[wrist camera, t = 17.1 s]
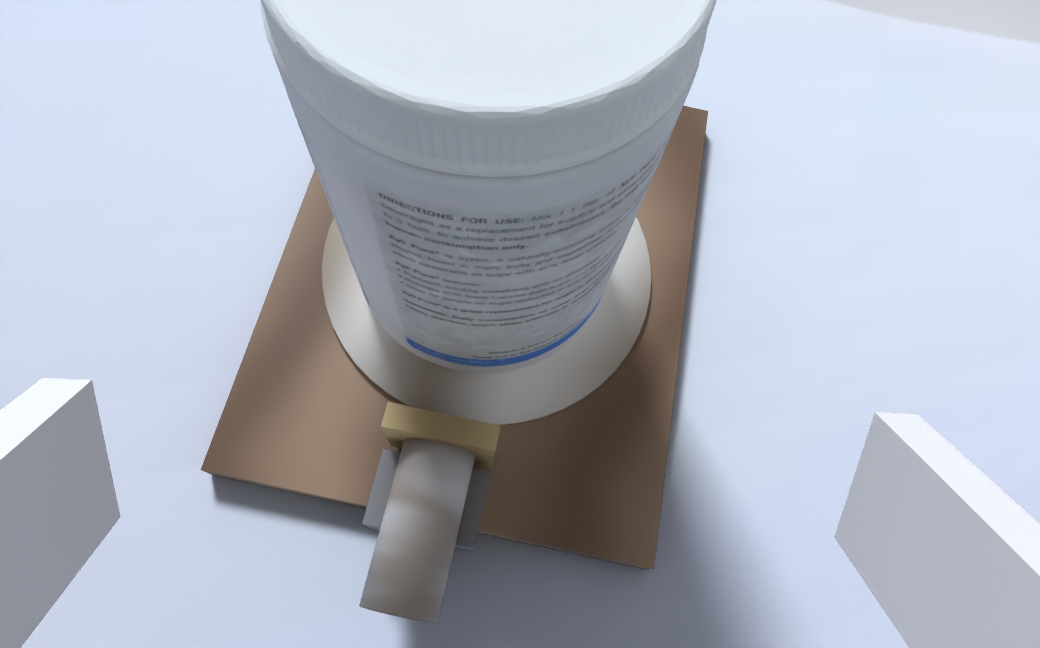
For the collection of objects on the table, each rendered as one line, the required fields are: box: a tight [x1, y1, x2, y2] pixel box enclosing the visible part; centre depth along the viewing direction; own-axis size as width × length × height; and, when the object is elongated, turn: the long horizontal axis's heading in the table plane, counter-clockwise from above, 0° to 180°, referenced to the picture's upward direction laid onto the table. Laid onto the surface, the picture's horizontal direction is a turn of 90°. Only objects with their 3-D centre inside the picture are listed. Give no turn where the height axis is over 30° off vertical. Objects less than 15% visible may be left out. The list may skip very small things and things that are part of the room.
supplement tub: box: [261, 0, 716, 373], centre depth 20 cm, size 10×10×15 cm
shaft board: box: [201, 106, 708, 623], centre depth 26 cm, size 16×26×5 cm, turn 168°
